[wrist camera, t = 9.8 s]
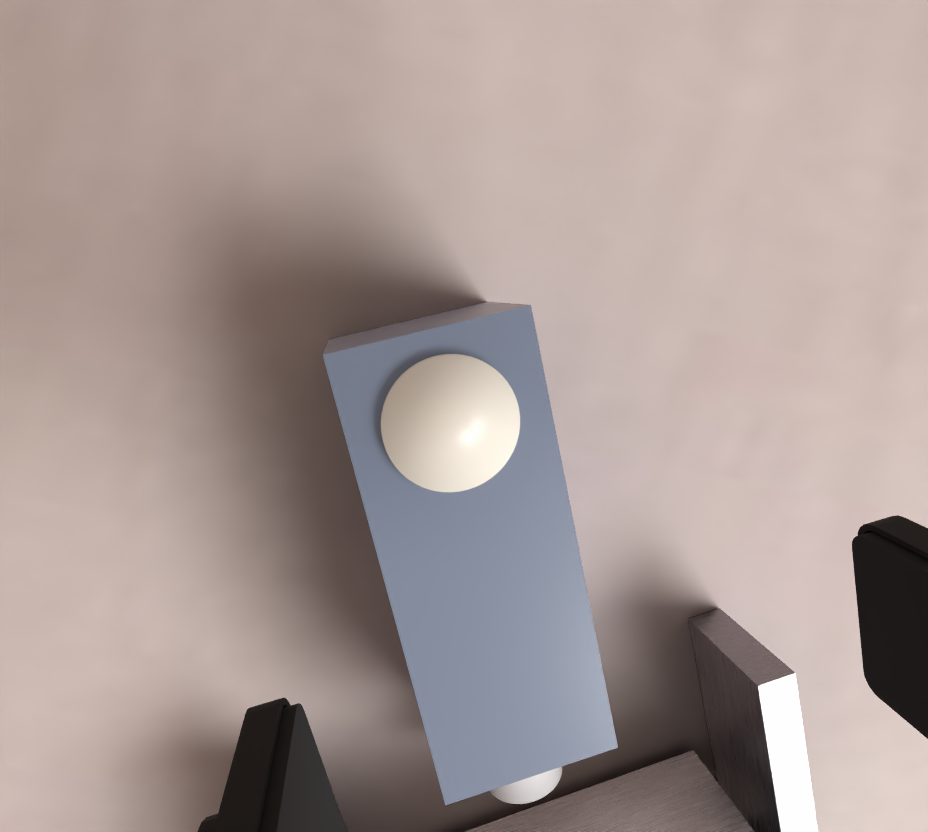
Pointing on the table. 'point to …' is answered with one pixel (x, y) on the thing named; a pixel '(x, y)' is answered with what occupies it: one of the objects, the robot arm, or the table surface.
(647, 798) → the anvil plate
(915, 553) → the robot arm
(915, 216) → the table surface
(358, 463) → the block
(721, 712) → the gauge frame
